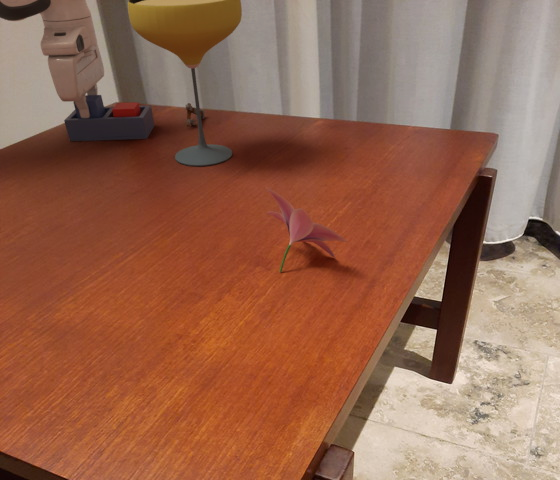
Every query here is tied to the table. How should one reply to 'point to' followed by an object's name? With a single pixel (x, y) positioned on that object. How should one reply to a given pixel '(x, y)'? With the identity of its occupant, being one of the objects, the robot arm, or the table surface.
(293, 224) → the lily
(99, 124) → the tray
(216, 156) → the cocktail glass
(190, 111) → the brown lumpy upright piece
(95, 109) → the blue block
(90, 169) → the table surface
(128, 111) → the red block
